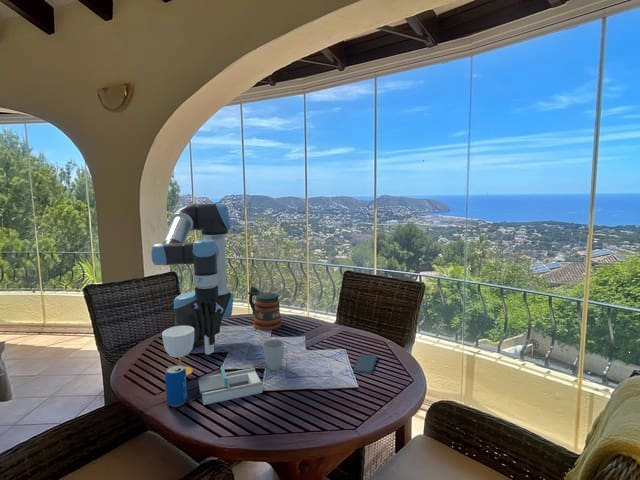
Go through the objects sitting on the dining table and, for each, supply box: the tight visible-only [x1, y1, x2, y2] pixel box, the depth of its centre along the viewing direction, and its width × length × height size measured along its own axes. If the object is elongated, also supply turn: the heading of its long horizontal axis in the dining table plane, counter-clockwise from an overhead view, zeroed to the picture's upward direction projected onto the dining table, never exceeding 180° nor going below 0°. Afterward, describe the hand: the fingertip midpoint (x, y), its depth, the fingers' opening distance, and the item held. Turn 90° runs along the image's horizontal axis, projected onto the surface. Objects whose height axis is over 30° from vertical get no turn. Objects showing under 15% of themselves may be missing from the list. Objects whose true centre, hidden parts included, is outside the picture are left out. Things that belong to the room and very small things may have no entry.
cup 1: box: [161, 325, 194, 377], centre depth 147 cm, size 12×12×17 cm
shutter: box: [197, 366, 228, 395], centre depth 132 cm, size 9×9×4 cm
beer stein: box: [247, 285, 282, 331], centre depth 199 cm, size 19×15×20 cm
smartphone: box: [353, 353, 378, 375], centre depth 154 cm, size 8×2×15 cm
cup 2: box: [263, 339, 285, 371], centre depth 152 cm, size 8×8×10 cm
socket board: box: [199, 367, 263, 406], centre depth 135 cm, size 12×20×4 cm, turn 112°
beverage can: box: [164, 364, 188, 408], centre depth 127 cm, size 6×6×12 cm
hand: (209, 352), depth 130 cm, fingers closed
